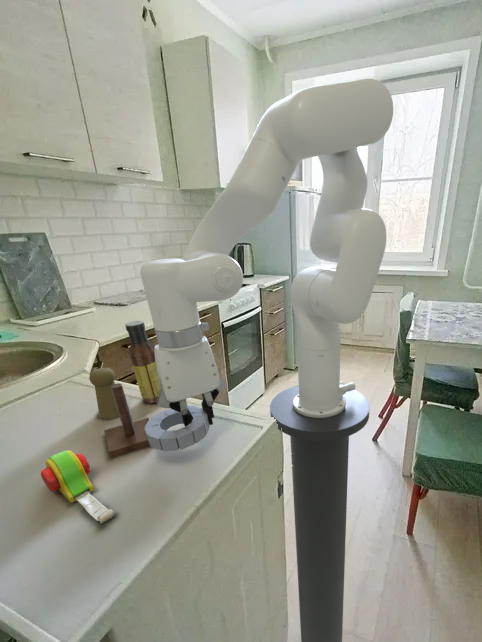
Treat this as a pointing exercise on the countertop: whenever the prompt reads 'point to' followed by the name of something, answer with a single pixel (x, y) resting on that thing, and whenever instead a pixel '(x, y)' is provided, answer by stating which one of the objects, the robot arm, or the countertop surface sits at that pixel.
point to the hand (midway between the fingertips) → (199, 424)
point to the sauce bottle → (143, 361)
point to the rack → (125, 428)
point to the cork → (104, 392)
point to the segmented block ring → (176, 437)
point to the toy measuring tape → (74, 482)
